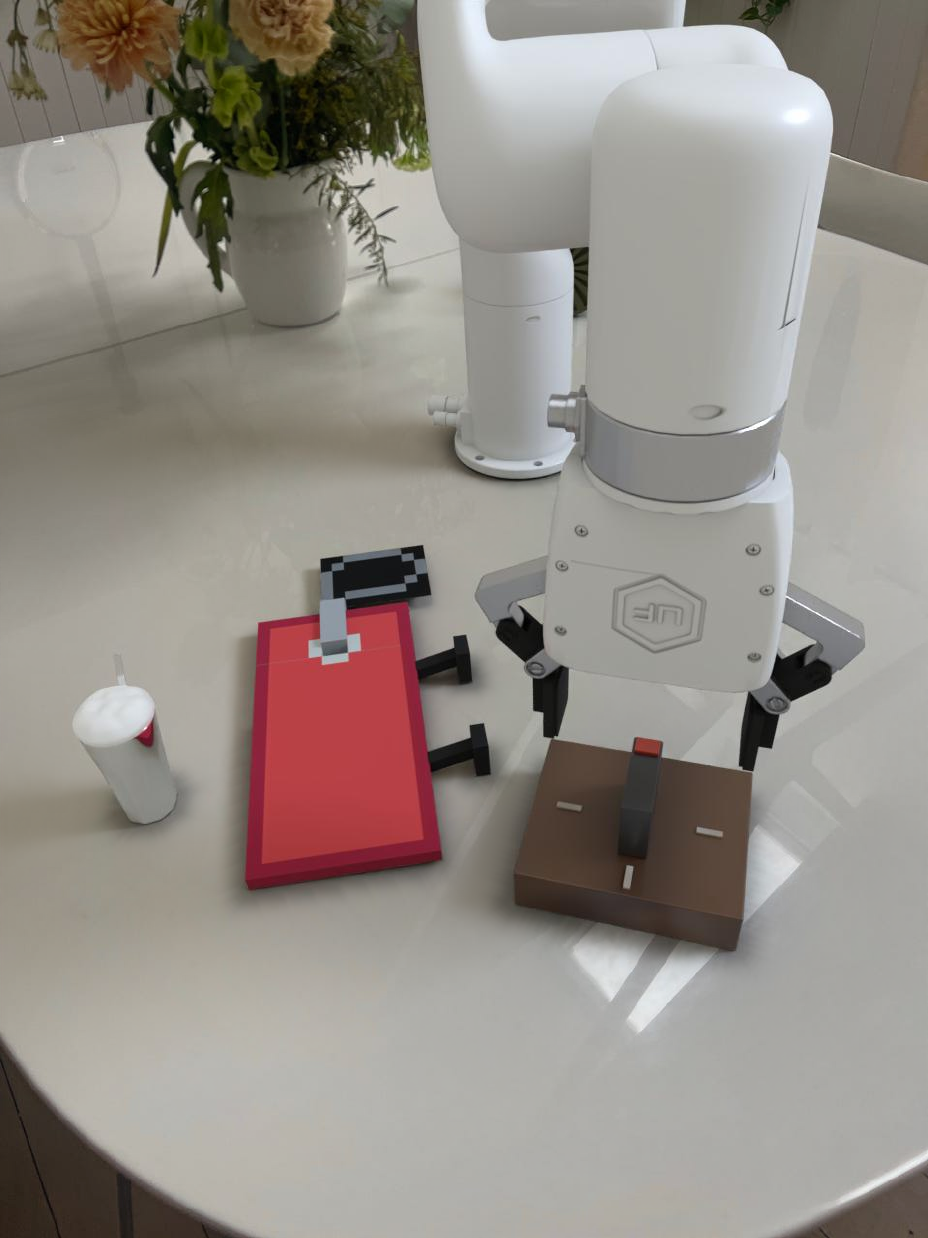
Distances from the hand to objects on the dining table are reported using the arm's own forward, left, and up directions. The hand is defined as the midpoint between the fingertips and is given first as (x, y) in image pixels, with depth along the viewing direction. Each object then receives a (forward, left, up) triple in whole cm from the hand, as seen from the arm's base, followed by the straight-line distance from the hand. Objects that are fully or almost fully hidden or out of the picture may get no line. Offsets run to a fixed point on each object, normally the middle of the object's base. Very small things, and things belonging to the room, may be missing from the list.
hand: (649, 734), depth 48 cm
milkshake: (-30, -3, -11) cm, 32 cm away
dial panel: (0, 0, -10) cm, 10 cm away
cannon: (-13, +80, -11) cm, 82 cm away
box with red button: (0, 0, -7) cm, 7 cm away
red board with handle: (-20, +9, -11) cm, 25 cm away
